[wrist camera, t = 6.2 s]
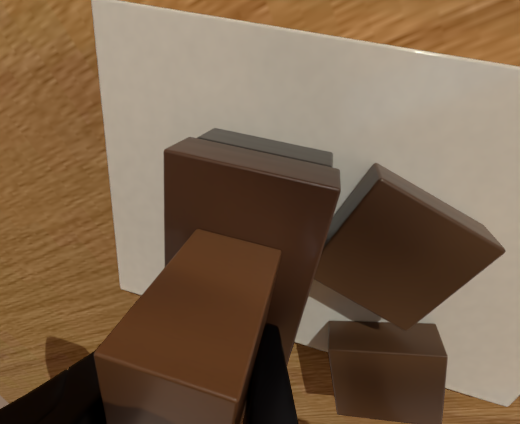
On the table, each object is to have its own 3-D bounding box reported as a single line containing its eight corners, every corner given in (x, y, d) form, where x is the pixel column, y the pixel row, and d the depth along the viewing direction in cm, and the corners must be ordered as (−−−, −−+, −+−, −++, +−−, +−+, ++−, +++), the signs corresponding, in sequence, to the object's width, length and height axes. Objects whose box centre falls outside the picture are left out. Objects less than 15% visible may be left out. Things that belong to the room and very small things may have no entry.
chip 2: (431, 390, 13) (442, 427, 12) (336, 382, 14) (337, 415, 13) (436, 322, 11) (448, 356, 10) (328, 319, 12) (327, 349, 11)
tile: (497, 385, 13) (508, 408, 12) (131, 276, 16) (119, 289, 15) (753, 107, 7) (809, 113, 7) (111, 1, 10) (89, -5, 9)
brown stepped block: (282, 355, 14) (240, 579, 8) (195, 328, 15) (95, 519, 9) (340, 153, 9) (347, 329, 3) (207, 125, 10) (0, 230, 4)
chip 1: (398, 301, 11) (406, 333, 10) (307, 249, 11) (303, 274, 10) (484, 225, 9) (509, 251, 8) (374, 160, 9) (380, 177, 8)
